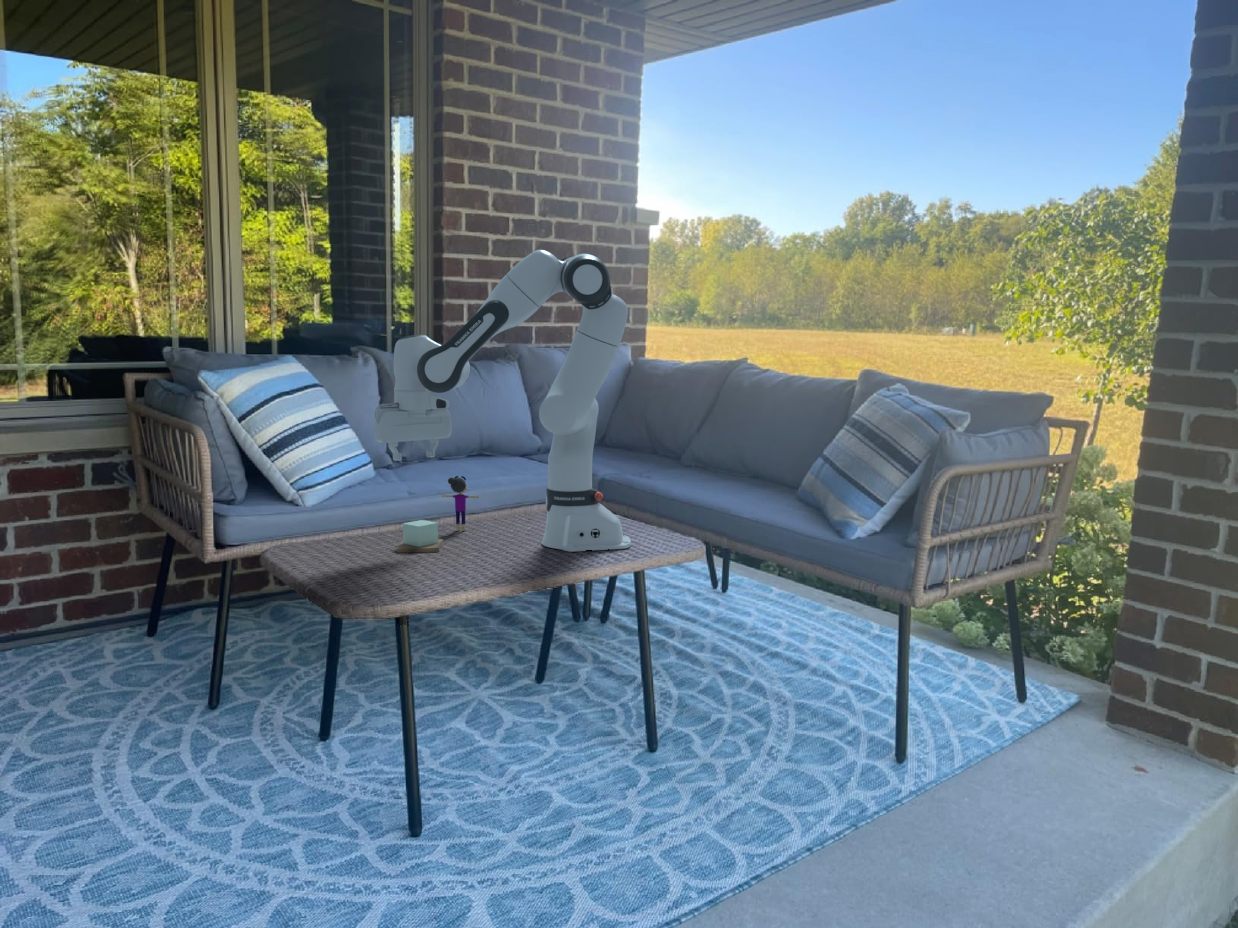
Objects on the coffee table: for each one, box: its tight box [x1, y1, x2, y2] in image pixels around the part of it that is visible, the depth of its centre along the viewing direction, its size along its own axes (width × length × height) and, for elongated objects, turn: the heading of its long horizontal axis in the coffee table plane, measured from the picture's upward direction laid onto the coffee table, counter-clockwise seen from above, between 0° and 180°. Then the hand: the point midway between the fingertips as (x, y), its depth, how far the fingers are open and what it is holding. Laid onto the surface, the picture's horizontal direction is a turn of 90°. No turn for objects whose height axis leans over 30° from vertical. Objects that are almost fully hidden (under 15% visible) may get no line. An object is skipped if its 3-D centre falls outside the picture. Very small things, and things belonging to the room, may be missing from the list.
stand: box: [396, 538, 444, 553], centre depth 220 cm, size 10×10×5 cm
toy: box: [441, 475, 480, 532], centre depth 239 cm, size 10×6×15 cm, turn 82°
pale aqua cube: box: [402, 519, 439, 547], centre depth 221 cm, size 6×6×5 cm
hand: (414, 458), depth 219 cm, fingers open, 8 cm apart
